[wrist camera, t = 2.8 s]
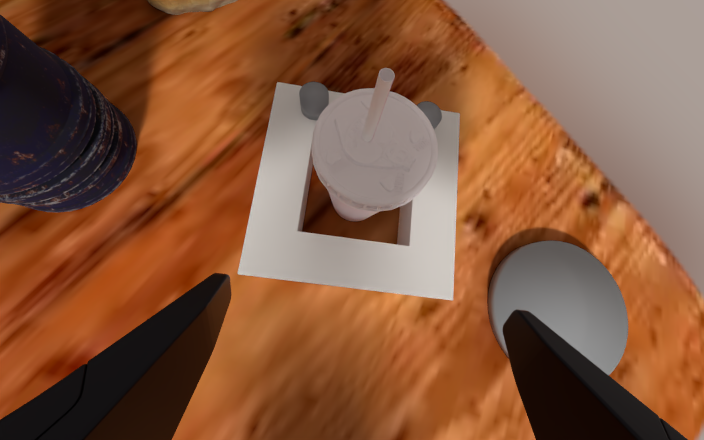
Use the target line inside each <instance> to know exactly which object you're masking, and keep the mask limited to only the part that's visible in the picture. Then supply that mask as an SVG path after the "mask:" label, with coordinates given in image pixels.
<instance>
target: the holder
mask: <svg viewBox="0 0 704 440" xmlns="http://www.w3.org/2000/svg"><path fill="white" fill-rule="evenodd" d="M343 94H344V93H339V92H333V91H328V90H327V88H326V87H325V86H324V85H323V84H321V83H318V82H309V83H306V84H305V85H303V86H298V85H292V84H286V83H281V82H277V85H276V90H275V95H274V100H273V105H272V110H271V114H270V119H269V124H268V129H267V134H266V139H265V144H264V148H263V153H262V158H261V163H260V168H259V173H258V178H257V182H256V187H255V192H254V197H253V202H252V207H251V211H250V216H249V221H248V226H247V231H246V236H245V241H244V245H243V250H242V255H241V260H240V265H239V270H238V274H240V275H248V276H256V277H265V278H273V279H281V280H289V281H298V282H306V283H314V284H322V285H331V286H339V287H347V288H355V289H364V290H372V291H380V292H388V293H397V294H405V295H413V296H421V297H429V298H438V299H446V300H453V287H454V260H455V233H456V206H457V178H458V151H459V124H460V113H455V112H449V111H443V110H440V108H439V107H438V106H437V105H436V104H434V103H432V102H428V101H425V102H421V103H419V104H418V105H417V106H418V107H419V108H420V109H421V110H422V112H423V113H424V114H425V115H426V117H427V118H428V119H429V121H430V123H431V125H432V127H433V129H434V131H435V134H436V138H437V143H438V159H437V164H436V168H435V171H434V173H433V175H432V177H431V179H430V180H429V182H428V183H427V184H426V186H425V187H424V188H423V189H422V191H421V192H420V193H419V195H418V196H416V197H415V198H414V199H412V200H411V201H410V202H408V203H407V204H406V205H403V206H400V214H399V226H398V238H397V244H389V243H382V242H374V241H367V240H359V239H352V238H345V237H337V236H330V235H322V234H315V233H307V232H302V229H303V223H304V217H305V211H306V205H307V198H308V192H309V186H310V180H311V173H312V167H313V159H312V149H311V148H312V138H313V131H314V127H315V125H316V122H317V120H318V118H319V116H320V114H321V113H322V111H323V110H324V109H325V108H326V107H327V106H328V105H329V104H330V103H331V102H332V101H333V100H335V99H336V98H338V97H339V96H341V95H343Z"/></svg>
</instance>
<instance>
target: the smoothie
mask: <svg viewBox="0 0 704 440" xmlns="http://www.w3.org/2000/svg"><path fill="white" fill-rule="evenodd" d="M394 77H395V74H394V72H393V71H392V70H391V69H389V68H383V69H381V70H380V71H379V75H378V78H377V82H376V86H375V88H365V89H358V90H354V91H350V92H348V93H345V94H343V95H341V96H339V97H338V98H336V99H335V100H333V101H332V102H331V103H330V104H329V105H328V106H327V107H326V108H325V109H324V110H323V111H322V113H321V114H320V116H319V118H318V120H317V122H316V125H315V127H314V131H313V138H312V148H311V149H312V159H313V165H314V168H315V170H316V173H317V175H318V177H319V179H320V181H321V182H322V183H323V185H324V186H325V187H326V189H327V190H328V192H329V195H330V198H331V201H332V204H333V207H334V209H335V211H336V212H337V213H338V214H339V215H340V216H341V217H342V218H344V219H346V220H348V221H354V222H356V221H362V220H365V219H367V218H368V217H370V216H372V215H374V214H376V213H378V212H379V211H387V210H393V209H395V208H398V207H400V206H403V205H406V204H407V203H408V202H410V201H411V200H412V199H414V198H415V197H416V196H418V195H419V193H420V192H421V191H422V189H423V188H424V187H425V186H426V184H427V183H428V182H429V180H430V179H431V177H432V175H433V173H434V171H435V168H436V164H437V159H438V143H437V138H436V134H435V131H434V129H433V127H432V125H431V123H430V121H429V119H428V118H427V117H426V115H425V114H424V113H423V112H422V110H421V109H420V108H419V107H418V106H416V105H415V104H414V103H413V102H411V101H410V100H408V99H407V98H405V97H403V96H401V95H399V94H397V93H395V92H391V91H390V89H391V86H392V83H393V80H394Z"/></svg>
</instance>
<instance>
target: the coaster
mask: <svg viewBox="0 0 704 440" xmlns="http://www.w3.org/2000/svg"><path fill="white" fill-rule="evenodd" d="M516 309H518V310H526V311H529V312H531V313H532V314H533V315H534V316H536V317H537V318H538V319H539V320H541V321H542V322H543V323H544V324H545V325H547V326H548V327H549V328H550V329H552V330H553V331H554V332H555V333H557V334H558V335H559V336H560V337H562V338H563V339H564V340H565V341H566V342H568V343H569V344H570V345H571V346H573V347H574V348H575V349H576V350H578V351H579V352H580V353H581V354H583V355H584V356H585V357H586V358H587V359H589V360H590V361H591V362H592V363H594V364H595V365H596V366H597V367H599V368H600V369H601V370H602V371H604V372H605V373H606V374H607V375H609V374H610V373H611V372H612V371H613V370H614V369H615V368H616V366H617V365H618V363H619V361H620V359H621V357H622V356H623V353H624V350H625V347H626V342H627V336H628V318H627V311H626V307H625V303H624V299H623V297H622V294H621V291H620V289H619V287H618V285H617V283H616V282H615V280H614V279H613V277H612V275H611V274H610V273H609V271H608V270H607V269H606V268H605V267H604V266H603V265H602V264H601V262H600V261H599V260H597V259H596V258H595V257H594V256H592V255H591V254H590V253H588V252H587V251H585V250H583V249H581V248H579V247H577V246H575V245H572V244H569V243H566V242H561V241H541V242H536V243H531V244H526V245H524V246H521V247H519V248H517V249H515V250H514V251H512V252H511V253H510V254H508V255H507V256H506V257H505V258H504V259H503V260H502V261H501V263H500V264H499V266H498V267H497V269H496V271H495V273H494V275H493V277H492V280H491V283H490V287H489V292H488V313H489V319H490V323H491V327H492V330H493V333H494V335H495V338H496V340H497V342H498V344H499V345H500V347H501V349H502V350H503V352H504V353H505V354H506V356H507V357H508V358H509V356H508V352H507V348H506V344H505V340H504V336H503V330H502V329H503V325H504V323H505V322H506V320H507V319H508V317H509V316H510V314H511V313H512V312H513V311H514V310H516Z"/></svg>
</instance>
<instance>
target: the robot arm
mask: <svg viewBox="0 0 704 440" xmlns="http://www.w3.org/2000/svg"><path fill="white" fill-rule="evenodd" d="M230 300H231V285H230V277H229V275H227V274H220V273H214V274H212V275H211V276H209V277H208V278H206V279H205V280H204V281H202V282H201V283H199V284H198V285H196V286H195V287H194V288H192V289H191V290H189V291H188V292H186V293H185V294H184V295H182V296H181V297H179V298H178V299H176V300H175V301H174V302H172V303H171V304H169V305H168V306H166V307H165V308H164V309H162V310H161V311H159V312H158V313H156V314H155V315H154V316H152V317H151V318H149V319H148V320H146V321H145V322H144V323H142V324H141V325H139V326H138V327H136V328H135V329H134V330H132V331H131V332H129V333H128V334H126V335H125V336H124V337H122V338H121V339H119V340H118V341H116V342H115V343H114V344H112V345H111V346H109V347H108V348H106V349H105V350H104V351H102V352H101V353H99V354H98V355H97V356H95V357H94V358H92V359H91V360H89V361H88V363H87V364H84V365H82V366H81V367H79V368H78V369H76V370H75V371H73V372H72V373H71V374H69V375H68V376H66V377H65V378H63V379H62V380H60V381H59V382H57V383H56V384H55V385H53V386H52V387H50V388H49V389H47V390H46V391H44V392H43V393H41V394H40V395H38V396H37V397H35V398H34V399H32V400H31V401H29V402H27V403H26V404H24V405H23V406H21V407H20V408H18V409H16V410H15V411H13V412H12V413H10V414H9V415H7V416H5V417H4V418H2V419H1V420H0V440H172V438H173V436H174V433H175V431H176V429H177V427H178V425H179V423H180V421H181V418H182V416H183V414H184V412H185V410H186V408H187V406H188V404H189V401H190V399H191V397H192V395H193V393H194V391H195V389H196V386H197V384H198V382H199V380H200V378H201V376H202V374H203V371H204V369H205V367H206V365H207V363H208V361H209V359H210V356H211V354H212V352H213V350H214V347H215V344H216V341H217V338H218V335H219V332H220V330H221V327H222V324H223V321H224V318H225V315H226V312H227V309H228V306H229V303H230ZM502 330H503V336H504V340H505V344H506V348H507V352H508V356H509V360H510V363H511V367H512V371H513V375H514V378H515V382H516V385H517V388H518V391H519V393H520V396H521V399H522V402H523V405H524V407H525V410H526V413H527V416H528V419H529V421H530V424H531V427H532V430H533V433H534V435H535V438H536V440H688V439H686V438H685V437H684V436H683V435H681V434H680V433H679V432H678V431H676V430H675V429H674V428H673V427H671V426H670V425H669V424H668V423H667V422H665V421H664V420H663V419H661V418H659V417H658V415H657V414H655V413H654V412H653V411H652V410H650V409H649V408H648V407H647V406H645V405H644V404H643V403H642V402H641V401H639V400H638V399H637V398H636V397H634V396H633V395H632V394H631V393H629V392H628V391H627V390H626V389H624V388H623V387H622V386H621V385H620V384H618V383H617V382H616V381H615V380H613V379H612V378H611V377H610V376H608V375H607V374H606V373H605V372H604V371H602V370H601V369H600V368H599V367H597V366H596V365H595V364H594V363H592V362H591V361H590V360H589V359H587V358H586V357H585V356H584V355H583V354H581V353H580V352H579V351H578V350H576V349H575V348H574V347H573V346H571V345H570V344H569V343H568V342H566V341H565V340H564V339H563V338H562V337H560V336H559V335H558V334H557V333H555V332H554V331H553V330H552V329H550V328H549V327H548V326H547V325H545V324H544V323H543V322H542V321H541V320H539V319H538V318H537V317H536V316H534V315H533V314H532V313H531V312H529V311H526V310H518V309H516V310H514V311H513V312H512V313H511V314H510V316H509V317H508V319H507V320H506V322H505V323H504V325H503V329H502Z"/></svg>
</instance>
